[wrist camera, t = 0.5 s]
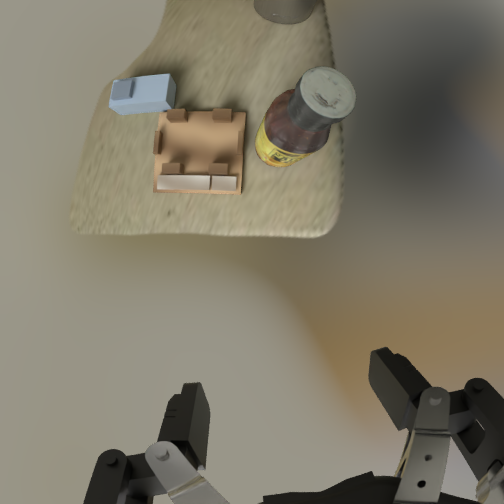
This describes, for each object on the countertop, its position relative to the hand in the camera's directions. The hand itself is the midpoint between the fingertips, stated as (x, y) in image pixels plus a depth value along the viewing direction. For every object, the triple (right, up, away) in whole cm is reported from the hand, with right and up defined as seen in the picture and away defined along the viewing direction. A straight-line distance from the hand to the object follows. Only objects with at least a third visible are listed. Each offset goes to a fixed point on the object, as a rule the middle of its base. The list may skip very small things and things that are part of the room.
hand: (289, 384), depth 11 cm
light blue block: (-16, +27, +21) cm, 38 cm away
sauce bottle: (+2, +20, +23) cm, 31 cm away
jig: (-9, +20, +22) cm, 31 cm away
